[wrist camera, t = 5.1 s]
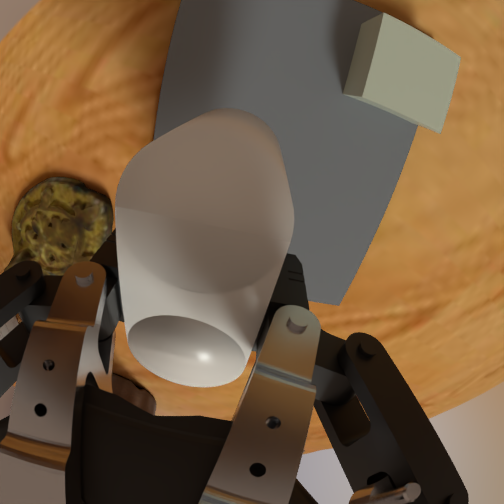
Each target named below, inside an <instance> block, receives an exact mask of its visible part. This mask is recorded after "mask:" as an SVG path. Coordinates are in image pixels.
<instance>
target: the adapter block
mask: <svg viewBox="0 0 504 504" xmlns="http://www.w3.org/2000/svg"><path fill="white" fill-rule="evenodd" d="M460 60H461V57H460V56H458V55H457V54H455V53H454V52H452V51H451V50H449V49H448V48H446V47H445V46H443V45H442V44H440V43H439V42H437V41H436V40H434V39H432V38H431V37H429V36H427V35H426V34H424V33H422V32H421V31H419V30H417V29H415V28H413V27H412V26H410V25H408V24H406V23H404V22H402V21H400V20H398V19H396V18H394V17H392V16H390V15H388V14H386V13H382V14H380V15H378V16H376V17H374V18H372V19H370V20H368V21H366V22H364V23H362V24H361V28H360V32H359V36H358V39H357V43H356V47H355V51H354V55H353V59H352V62H351V66H350V70H349V73H348V77H347V81H346V84H345V88H344V91H343V94H344V95H347V96H349V97H352V98H355V99H357V100H360V101H363V102H365V103H368V104H370V105H373V106H375V107H378V108H380V109H382V110H385V111H387V112H389V113H392V114H394V115H396V116H398V117H400V118H403V119H405V120H407V121H409V122H411V123H413V124H416V125H419V126H422V127H424V128H427V129H429V130H432V131H434V132H437V133H439V134H441V131H442V128H443V124H444V121H445V118H446V115H447V111H448V108H449V104H450V101H451V97H452V93H453V90H454V86H455V82H456V78H457V73H458V69H459V64H460Z"/></svg>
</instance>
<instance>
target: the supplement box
mask: <svg viewBox="0 0 504 504" xmlns="http://www.w3.org/2000/svg"><path fill="white" fill-rule="evenodd" d="M17 325H19V324H18V321H17V319H16V316H14V317H13V318H11V319H10V320H9V321H8V322H7V323H6V324H4V325H3V326H2V327H1V328H0V340H1V339H3V338H4V337H5V336H6V335H7V334H8V333H9V332H10V331H12V330H13V329H14V328H15V327H16V326H17Z"/></svg>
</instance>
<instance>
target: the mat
mask: <svg viewBox="0 0 504 504" xmlns="http://www.w3.org/2000/svg"><path fill="white" fill-rule="evenodd" d="M380 14H382V12H380V11H378V10H376V9H373V8H371V7H369V6H366V5H364V4H362V3H359V2H356V1H354V0H181V3H180V7H179V10H178V14H177V18H176V22H175V25H174V29H173V33H172V38H171V42H170V46H169V51H168V55H167V60H166V65H165V70H164V75H163V81H162V86H161V92H160V98H159V104H158V111H157V118H156V125H155V133H154V140H155V139H157V138H159V137H161V136H162V135H164V134H166V133H168V132H170V131H171V130H173V129H175V128H177V127H179V126H180V125H182V124H184V123H186V122H188V121H190V120H192V119H194V118H196V117H198V116H200V115H202V114H204V113H206V112H209V111H212V110H215V109H222V108H233V109H240V110H243V111H247V112H249V113H251V114H253V115H255V116H257V117H259V118H260V119H261V120H262V121H264V122H265V123H266V124H267V125H268V126H269V127H270V129H271V130H272V131H273V133H274V134H275V136H276V138H277V140H278V143H279V145H280V149H281V154H282V158H283V162H284V166H285V171H286V175H287V180H288V184H289V189H290V193H291V198H292V203H293V208H294V228H293V234H292V238H291V242H290V245H289V248H288V251H287V253H289V254H293V255H296V256H297V258H298V259H299V261H300V262H301V263H302V267H303V273H304V274H303V275H304V279H305V285H306V291H307V298H308V301H313V302H319V303H325V304H332V305H338V306H339V305H340V303H341V301H342V299H343V297H344V295H345V294H346V292H347V290H348V288H349V286H350V284H351V282H352V280H353V278H354V276H355V274H356V273H357V271H358V269H359V267H360V265H361V263H362V261H363V259H364V256H365V254H366V252H367V250H368V248H369V246H370V244H371V242H372V240H373V238H374V235H375V233H376V231H377V229H378V227H379V224H380V222H381V220H382V218H383V215H384V213H385V211H386V209H387V206H388V204H389V201H390V199H391V197H392V194H393V192H394V189H395V187H396V184H397V182H398V179H399V177H400V174H401V172H402V169H403V166H404V164H405V161H406V158H407V155H408V153H409V150H410V147H411V144H412V141H413V138H414V135H415V132H416V129H417V126H418V125H416V124H413V123H411V122H409V121H407V120H405V119H403V118H400V117H398V116H396V115H394V114H392V113H389V112H387V111H385V110H382V109H380V108H378V107H375V106H373V105H370V104H368V103H365V102H363V101H360V100H357V99H355V98H352V97H349V96H347V95H344V94H343V91H344V88H345V84H346V81H347V77H348V73H349V70H350V66H351V62H352V59H353V55H354V51H355V47H356V43H357V39H358V36H359V32H360V28H361V24H362V23H364V22H366V21H368V20H370V19H372V18H374V17H376V16H378V15H380Z"/></svg>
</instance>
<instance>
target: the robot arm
mask: <svg viewBox="0 0 504 504" xmlns="http://www.w3.org/2000/svg"><path fill="white" fill-rule="evenodd" d="M303 274H304V273H303V267H302V263H301V262H300V261H299V259H298V258H297V256H296V255H293V254H289V253H287V254H286V256H285V259H284V262H283V265H282V268H281V271H280V274H279V277H278V279H277V282H276V285H275V288H274V291H273V293H272V296H271V299H270V302H269V305H268V307H267V310H266V313H265V316H264V318H263V321H262V324H261V326H260V329H259V332H258V335H257V337H256V340H255V343H254V345H253V348H252V351H256V361H255V364H254V366H253V368H252V371H251V373H250V376H249V379H248V381H247V384H246V386H245V389H244V391H243V393H242V396H241V398H240V401H239V403H238V406H237V408H236V411H235V413H234V415H233V417H232V420H231V421H228V420H221V419H215V418H209V417H204V416H155V415H152V414H150V413H148V412H146V411H144V410H142V409H141V408H139V407H137V406H135V405H133V404H132V403H130V402H128V401H127V400H125V399H123V398H122V397H120V396H118V395H116V394H113V391H112V382H111V380H112V366H113V356H114V347H115V338H116V332H115V328H116V326H117V323H118V321H122V322H124V315H123V308H122V300H121V291H120V282H119V271H118V259H117V244H116V228H115V230H114V231H113V232H112V233H111V235H110V236H109V237H108V238H107V239H106V241H105V242H104V243H103V244H102V245H101V247H100V248H99V249H98V250H97V252H96V253H95V254H94V255H93V257H92V258H91V259H90V260H89V261H84V262H79V263H76V264H74V265H72V266H70V267H69V268H68V269H67V270H66V271H65V273H64V275H44V274H43V271H42V267H41V265H40V264H39V263H38V262H36V261H32V260H26V261H22V262H19V263H17V264H15V265H14V266H12V267H11V268H9V269H8V270H6V271H5V272H3V273H2V274H1V275H0V328H1V327H2V326H3V325H4V324H6V323H7V322H8V321H9V320H10V319H11V318H13V317H14V316H15V315H16V314H18V313H19V316H20V318H21V320H22V322H21V323H20V324H19V325H17V326H16V327H15V328H14V329H13V330H12V331H10V332H9V333H8V334H7V335H6V336H5V337H4V338H3V339H1V340H0V397H1V396H2V395H3V394H4V393H5V392H6V391H7V390H8V389H9V388H10V387H11V386H12V385H13V384H14V383H15V382H16V381H17V382H16V386H15V391H14V396H13V401H12V406H11V412H10V415H9V416H8V417H6V418H4V419H2V420H0V504H318V503H317V502H316V501H315V499H314V498H313V497H312V496H311V495H310V494H309V493H308V492H307V490H306V489H305V488H304V487H303V486H302V484H301V483H300V482H299V481H298V480H297V479H296V476H297V472H298V469H299V464H300V461H301V457H302V453H303V449H304V445H305V441H306V437H307V433H308V428H309V424H310V420H311V415H312V410H313V405H314V407H315V409H316V412H317V414H318V416H319V418H320V420H321V423H322V425H323V427H324V429H325V431H326V433H327V436H328V438H329V440H330V442H331V444H332V447H333V449H334V451H335V453H336V455H337V457H338V460H339V462H340V464H341V466H342V468H343V470H344V472H345V475H346V477H347V479H348V481H349V483H350V486H351V487H352V490H353V492H354V494H353V495H352V497H351V499H350V501H349V504H468V493H467V490H466V488H465V486H464V484H463V482H462V480H461V478H460V476H459V474H458V472H457V470H456V468H455V466H454V464H453V462H452V461H451V459H450V457H449V455H448V453H447V451H446V449H445V447H444V446H443V444H442V442H441V440H440V438H439V437H438V435H437V433H436V431H435V430H434V428H433V426H432V424H431V423H430V421H429V419H428V418H427V416H426V414H425V412H424V411H423V409H422V407H421V406H420V404H419V402H418V401H417V399H416V397H415V396H414V394H413V392H412V391H411V389H410V388H409V386H408V384H407V383H406V381H405V380H404V378H403V376H402V375H401V373H400V372H399V370H398V368H397V367H396V365H395V364H394V362H393V361H392V359H391V358H390V356H389V354H388V353H387V351H386V350H385V348H384V347H383V345H382V344H381V343H380V342H379V341H378V340H377V339H376V338H374V337H373V336H371V335H369V334H366V333H360V332H358V333H353V334H351V335H350V336H349V337H348V338H347V340H343V339H341V338H338V337H336V336H334V335H331V334H329V333H327V332H325V331H323V330H322V329H321V326H320V323H319V320H318V319H317V317H316V316H315V315H314V314H313V313H312V312H310V311H309V304H308V298H307V291H306V285H305V279H304V275H303ZM356 395H357V397H358V398H357V397H356ZM358 399H359V400H358ZM359 401H360V402H359ZM360 403H361V404H362V406H363V408H364V410H365V412H366V413H365V412H364V410H363V408H362V406H361V404H360ZM366 414H367V415H366ZM367 416H368V417H367ZM368 418H369V419H368ZM369 420H370V421H369Z"/></svg>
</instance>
